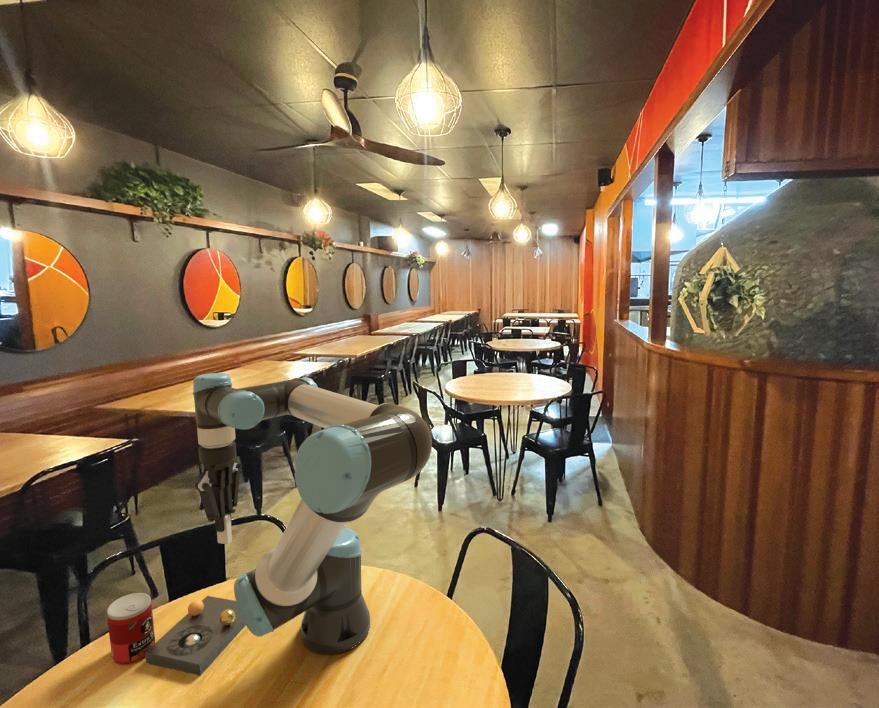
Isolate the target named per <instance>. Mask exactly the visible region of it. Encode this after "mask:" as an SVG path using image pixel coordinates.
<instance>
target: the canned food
mask: <svg viewBox="0 0 879 708" xmlns="http://www.w3.org/2000/svg"><path fill="white" fill-rule="evenodd" d="M106 619H107V628H108V634H109V635H108V636H109V643H110V650H111V651H110V652H111V658H112V660H113V662H114V663H115V664H117V665H122V666H126V665H127V666H128V665H131V664H135V663H138V662H140V661H142V660H143V659H146V658H145V652H146V651H147V650H148V649H149V648H150V647H151V646H153V645H154V644H155V643H156V636H155V623H154V614H153V605H152V598H151V596H150V595H149V593H148V594H147V593H145V592H132V593H129V594H126V595H124V596H121V597H119V598H117V599H116V600H114V601H113V602H112V603H111V604H110V605H109V606H108V607H107V610H106Z"/></svg>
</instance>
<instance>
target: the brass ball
mask: <svg viewBox="0 0 879 708" xmlns="http://www.w3.org/2000/svg"><path fill="white" fill-rule="evenodd" d="M234 619H235V612H234V611H233V610H231V609H226V610H224V611H223V612H222V613H221V615H220V618H219V621H220V623H221V624H222V625H224V626H227V625H230V624H231V623H232V622H233V621H234Z"/></svg>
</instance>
